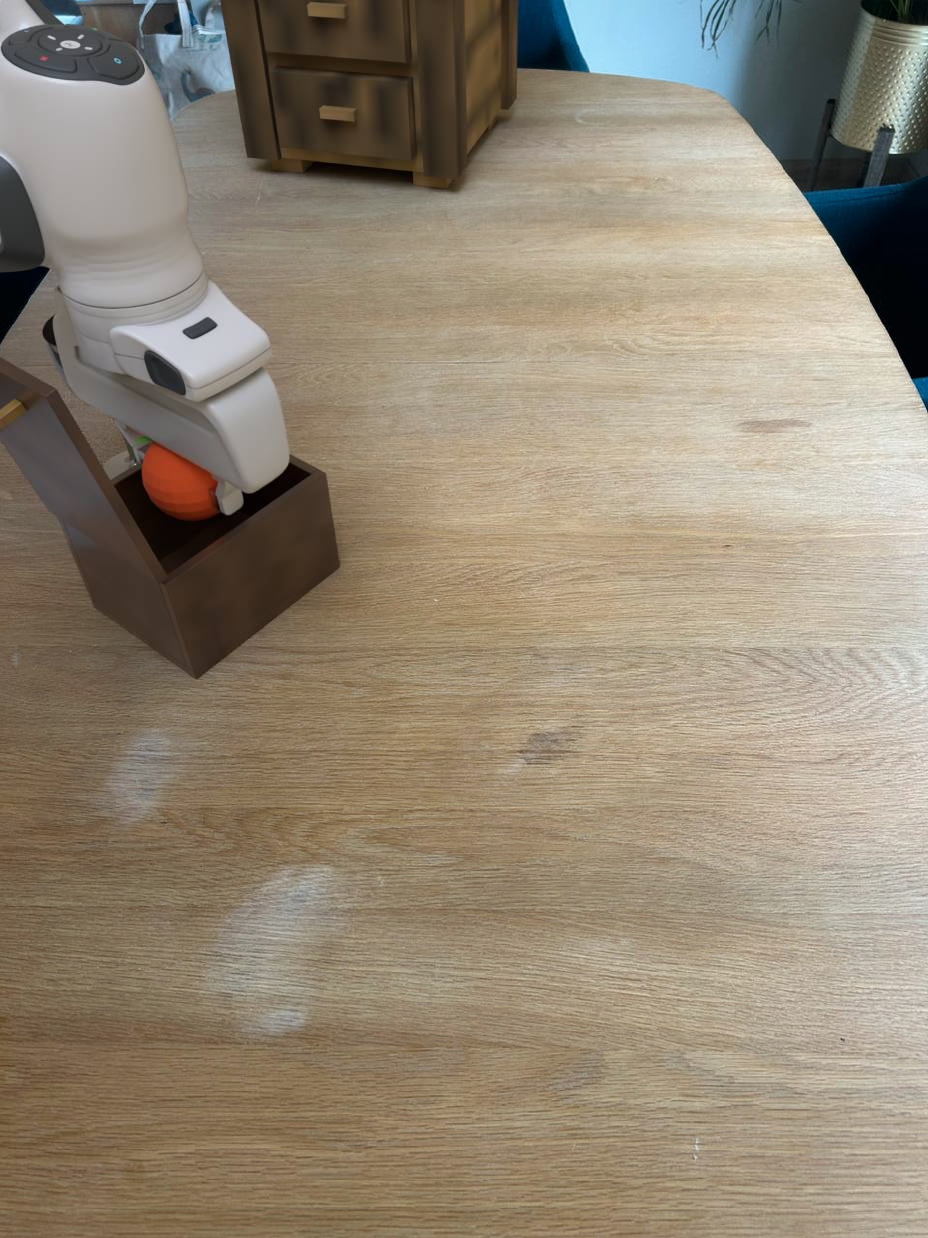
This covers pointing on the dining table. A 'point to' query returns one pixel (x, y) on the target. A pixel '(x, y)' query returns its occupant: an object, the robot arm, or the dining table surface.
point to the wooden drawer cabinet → (371, 80)
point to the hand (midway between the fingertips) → (190, 485)
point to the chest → (214, 566)
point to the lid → (67, 468)
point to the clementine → (176, 484)
